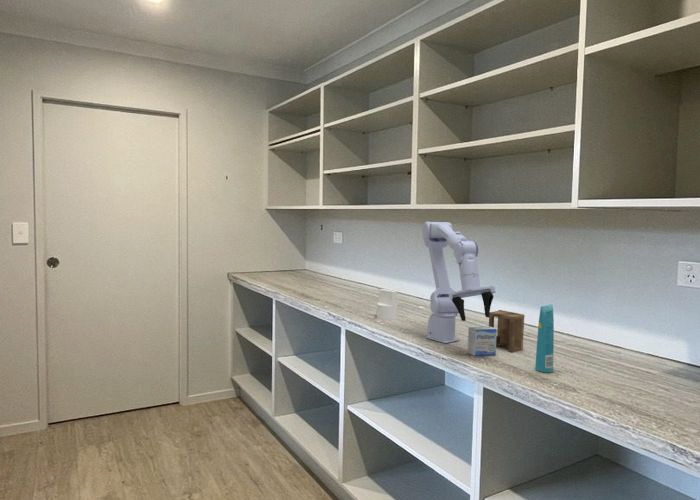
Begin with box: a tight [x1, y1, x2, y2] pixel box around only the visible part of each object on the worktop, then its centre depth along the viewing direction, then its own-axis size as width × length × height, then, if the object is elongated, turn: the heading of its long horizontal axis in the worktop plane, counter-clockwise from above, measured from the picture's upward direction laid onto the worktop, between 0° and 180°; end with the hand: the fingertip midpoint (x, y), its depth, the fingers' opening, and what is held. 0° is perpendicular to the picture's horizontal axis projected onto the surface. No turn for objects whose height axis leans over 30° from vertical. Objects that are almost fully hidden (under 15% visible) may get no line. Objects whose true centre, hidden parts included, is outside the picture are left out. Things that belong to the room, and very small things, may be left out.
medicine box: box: [467, 326, 497, 357], centre depth 158 cm, size 8×4×9 cm, turn 106°
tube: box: [534, 303, 555, 373], centre depth 142 cm, size 7×5×19 cm, turn 139°
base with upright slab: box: [376, 288, 399, 321], centre depth 212 cm, size 9×9×12 cm
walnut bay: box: [488, 309, 525, 353], centre depth 166 cm, size 9×6×12 cm
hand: (475, 318), depth 153 cm, fingers open, 7 cm apart
